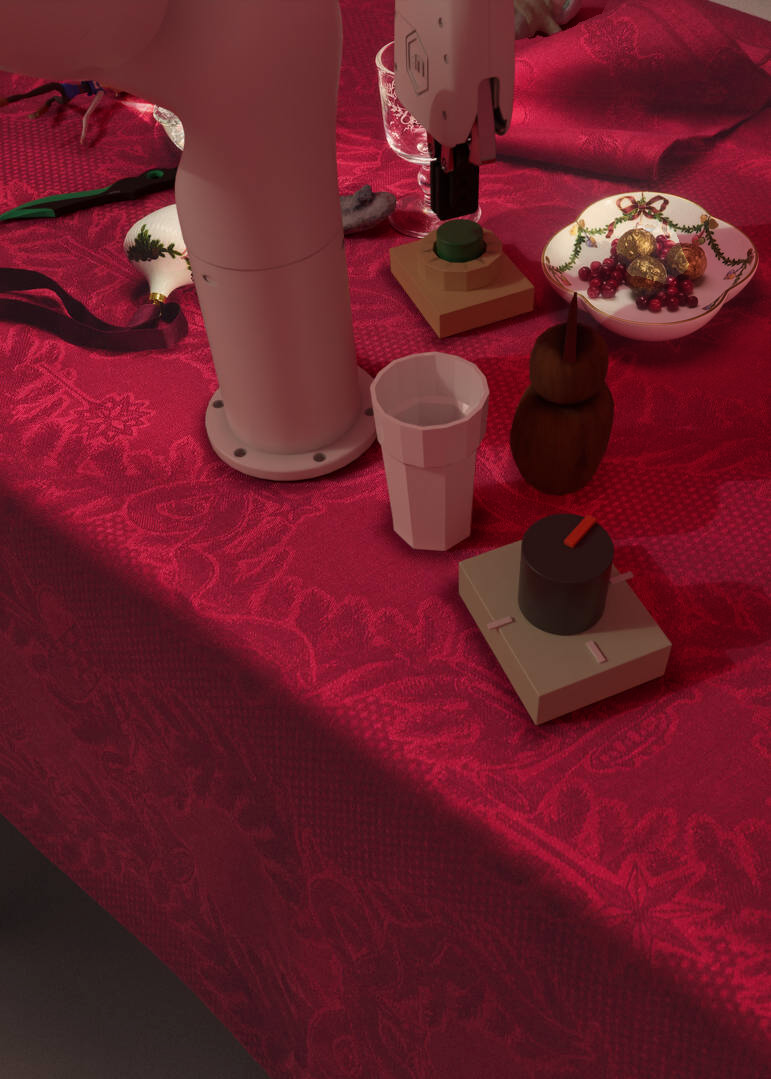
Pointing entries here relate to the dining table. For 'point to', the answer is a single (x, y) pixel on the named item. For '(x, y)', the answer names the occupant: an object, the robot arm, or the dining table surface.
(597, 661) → the dial panel
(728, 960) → the dining table surface
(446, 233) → the button
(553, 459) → the wooden figurine
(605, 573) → the dial
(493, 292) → the button box
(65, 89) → the figurine
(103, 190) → the knife
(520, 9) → the toy
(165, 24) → the robot arm
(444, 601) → the dining table surface
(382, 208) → the fossil
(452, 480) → the cup
